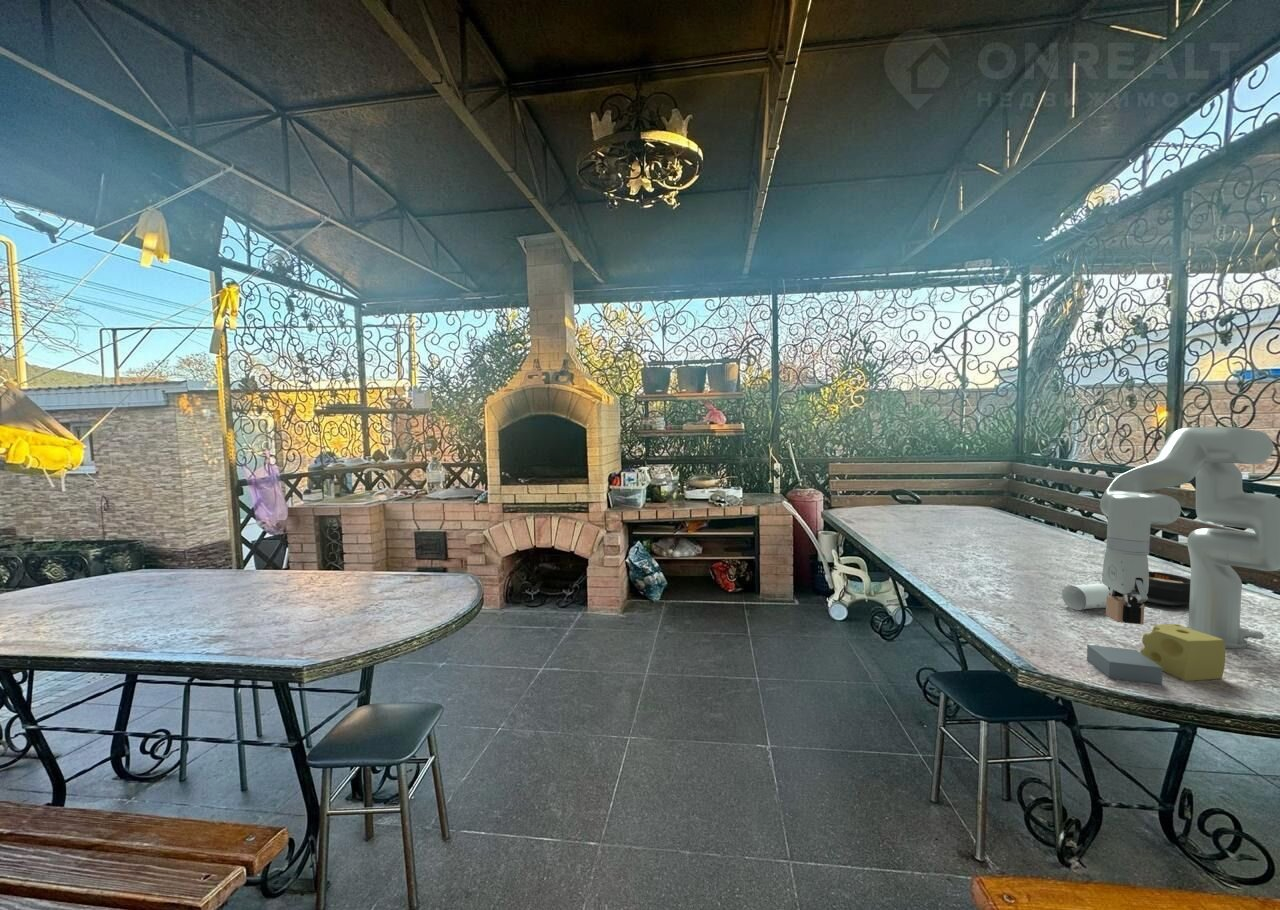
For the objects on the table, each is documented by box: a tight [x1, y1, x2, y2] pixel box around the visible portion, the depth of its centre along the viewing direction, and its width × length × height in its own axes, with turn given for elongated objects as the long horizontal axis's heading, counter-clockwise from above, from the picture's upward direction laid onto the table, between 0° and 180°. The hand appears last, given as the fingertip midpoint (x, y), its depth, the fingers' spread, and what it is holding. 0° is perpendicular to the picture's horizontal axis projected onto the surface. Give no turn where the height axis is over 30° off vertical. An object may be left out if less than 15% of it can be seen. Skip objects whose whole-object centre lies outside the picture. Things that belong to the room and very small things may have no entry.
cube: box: [1105, 596, 1145, 626], centre depth 122 cm, size 5×5×5 cm
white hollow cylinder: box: [1060, 583, 1109, 611], centre depth 167 cm, size 8×19×8 cm, turn 99°
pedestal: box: [1086, 644, 1163, 685], centre depth 123 cm, size 10×10×4 cm
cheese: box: [1139, 623, 1226, 682], centre depth 123 cm, size 10×11×10 cm
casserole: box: [1130, 571, 1191, 607], centre depth 173 cm, size 25×19×8 cm
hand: (1124, 617), depth 123 cm, fingers closed on cube, 5 cm apart
